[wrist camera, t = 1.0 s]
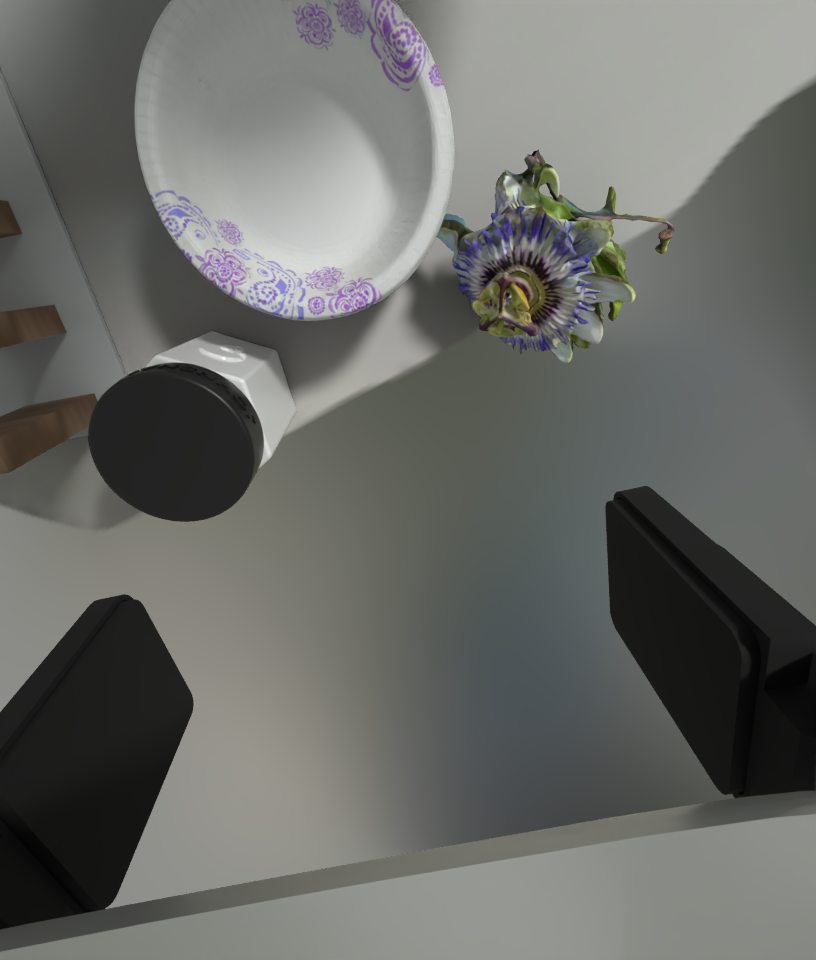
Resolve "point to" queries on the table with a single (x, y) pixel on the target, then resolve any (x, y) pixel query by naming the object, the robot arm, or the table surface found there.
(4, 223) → the tile
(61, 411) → the tile
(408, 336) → the table surface
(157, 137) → the paper bowls
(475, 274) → the passion flower
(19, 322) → the tile
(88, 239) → the table surface
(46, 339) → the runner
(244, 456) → the jar
